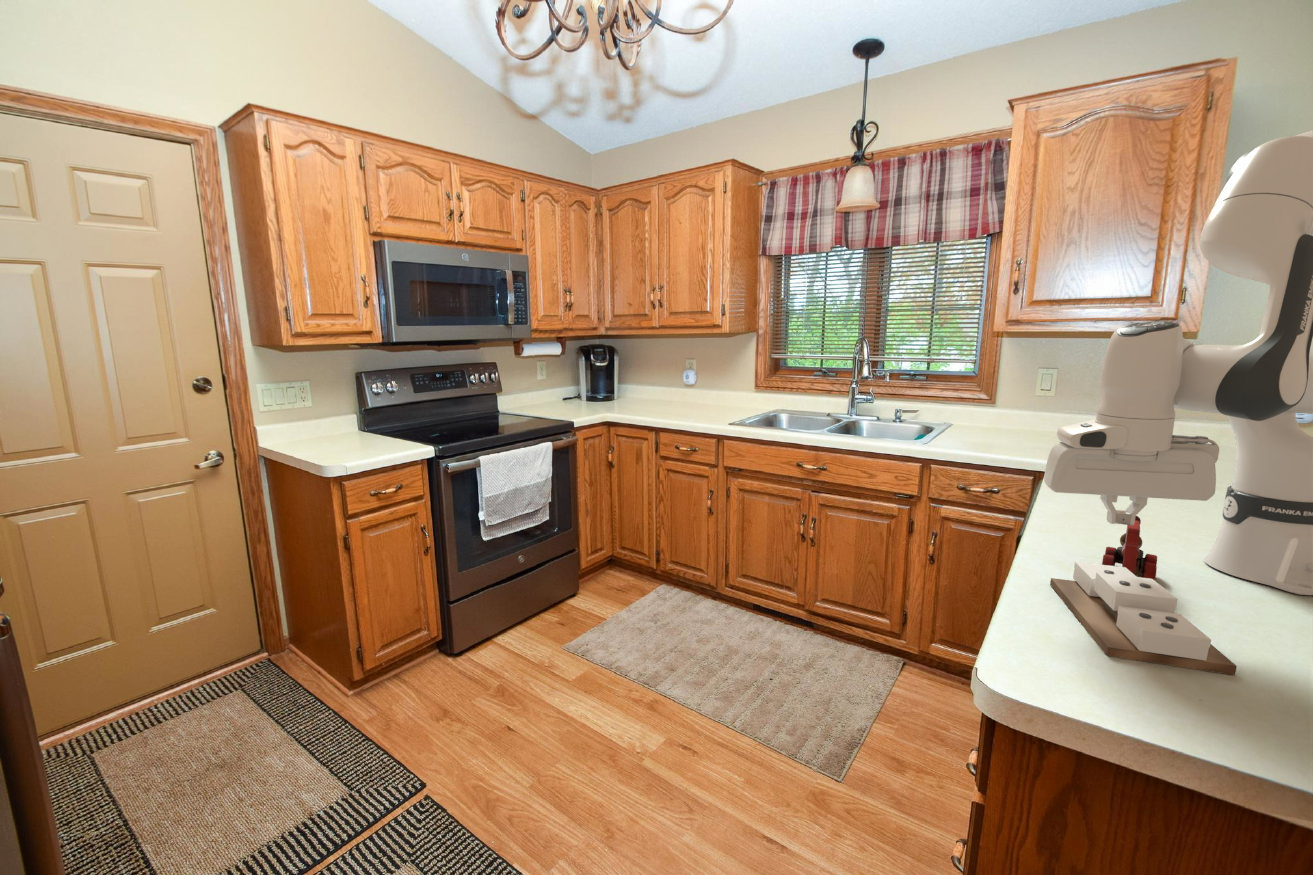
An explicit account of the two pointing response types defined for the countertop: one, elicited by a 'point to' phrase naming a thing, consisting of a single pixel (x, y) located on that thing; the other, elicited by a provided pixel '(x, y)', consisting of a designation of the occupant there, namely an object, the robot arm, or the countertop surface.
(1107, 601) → the two-pip tile
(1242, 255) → the robot arm
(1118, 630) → the walnut board
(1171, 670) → the countertop surface
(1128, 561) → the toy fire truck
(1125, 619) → the three-pip tile
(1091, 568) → the one-pip tile
